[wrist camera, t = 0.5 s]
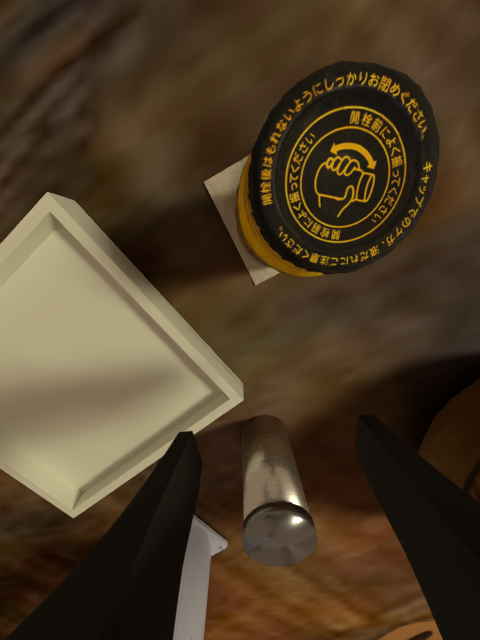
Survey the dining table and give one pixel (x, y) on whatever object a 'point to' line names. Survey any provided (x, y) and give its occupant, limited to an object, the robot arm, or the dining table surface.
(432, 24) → the dining table surface
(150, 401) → the tray
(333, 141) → the condiment
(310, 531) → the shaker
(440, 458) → the ceramic pitcher
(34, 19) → the dining table surface
